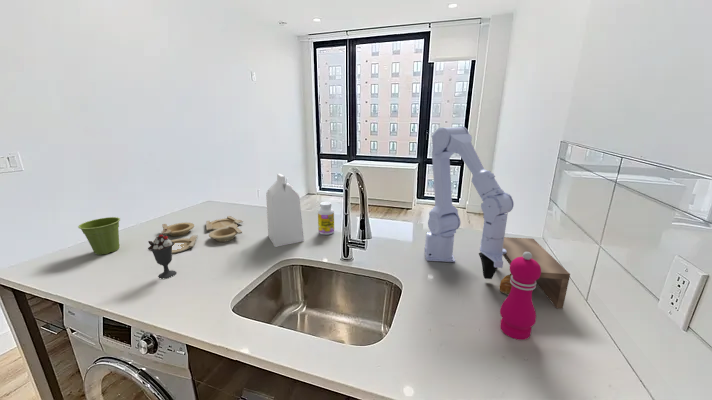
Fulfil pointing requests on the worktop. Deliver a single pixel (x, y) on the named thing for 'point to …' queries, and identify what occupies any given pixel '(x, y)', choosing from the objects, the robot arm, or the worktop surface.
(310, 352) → the worktop surface
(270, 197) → the milk
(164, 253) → the sundae
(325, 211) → the supplement bottle
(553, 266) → the walnut shelf
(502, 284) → the pastry
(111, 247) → the plant pot
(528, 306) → the pepper mill
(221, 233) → the tableware set
